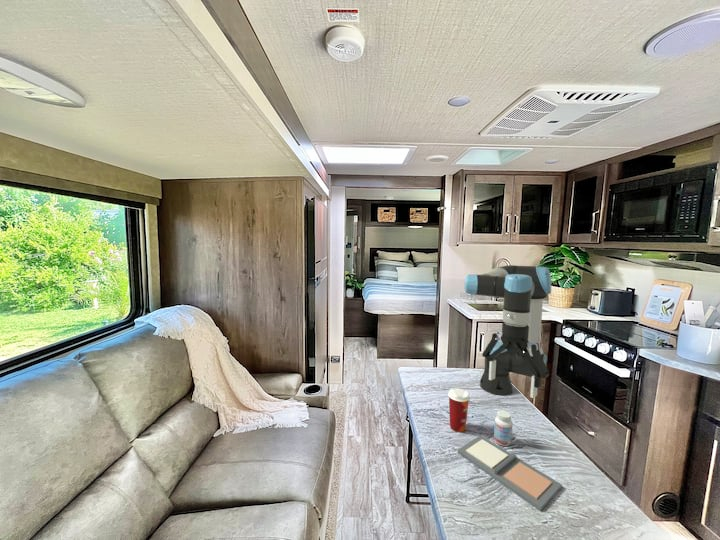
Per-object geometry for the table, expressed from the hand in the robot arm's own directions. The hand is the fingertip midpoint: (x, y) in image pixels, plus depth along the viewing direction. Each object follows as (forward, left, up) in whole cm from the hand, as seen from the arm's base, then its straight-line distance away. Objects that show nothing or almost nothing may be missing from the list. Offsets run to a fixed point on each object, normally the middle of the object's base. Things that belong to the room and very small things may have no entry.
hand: (511, 387), depth 96 cm
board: (0, 0, -29) cm, 29 cm away
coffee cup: (-5, -23, -29) cm, 37 cm away
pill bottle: (-12, -8, -29) cm, 32 cm away
